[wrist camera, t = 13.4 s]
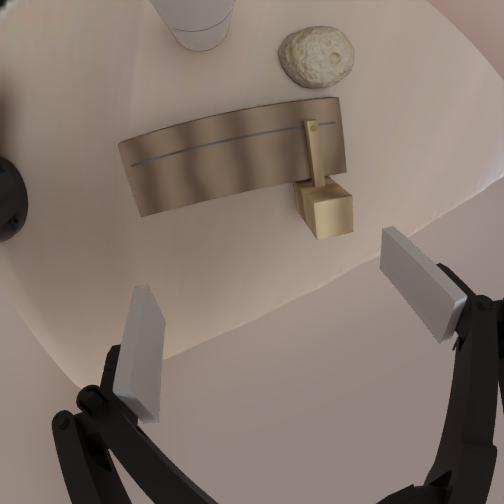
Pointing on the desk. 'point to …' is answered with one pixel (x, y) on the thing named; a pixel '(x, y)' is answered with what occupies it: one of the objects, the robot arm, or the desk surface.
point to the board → (231, 153)
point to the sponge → (317, 56)
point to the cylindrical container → (196, 21)
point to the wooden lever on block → (322, 194)
